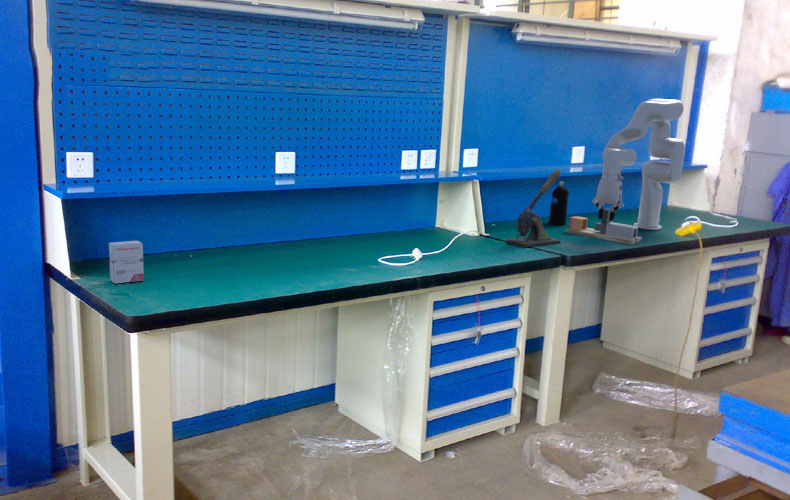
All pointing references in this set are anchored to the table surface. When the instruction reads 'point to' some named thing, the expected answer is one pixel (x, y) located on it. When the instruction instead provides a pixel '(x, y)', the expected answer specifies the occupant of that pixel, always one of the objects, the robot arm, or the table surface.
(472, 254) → the table surface
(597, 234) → the base board
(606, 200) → the robot arm
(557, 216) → the aerosol can
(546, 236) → the embossing press
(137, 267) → the ink box
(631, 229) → the pale blue rectangular box
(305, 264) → the table surface
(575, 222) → the socket
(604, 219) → the grey bar
